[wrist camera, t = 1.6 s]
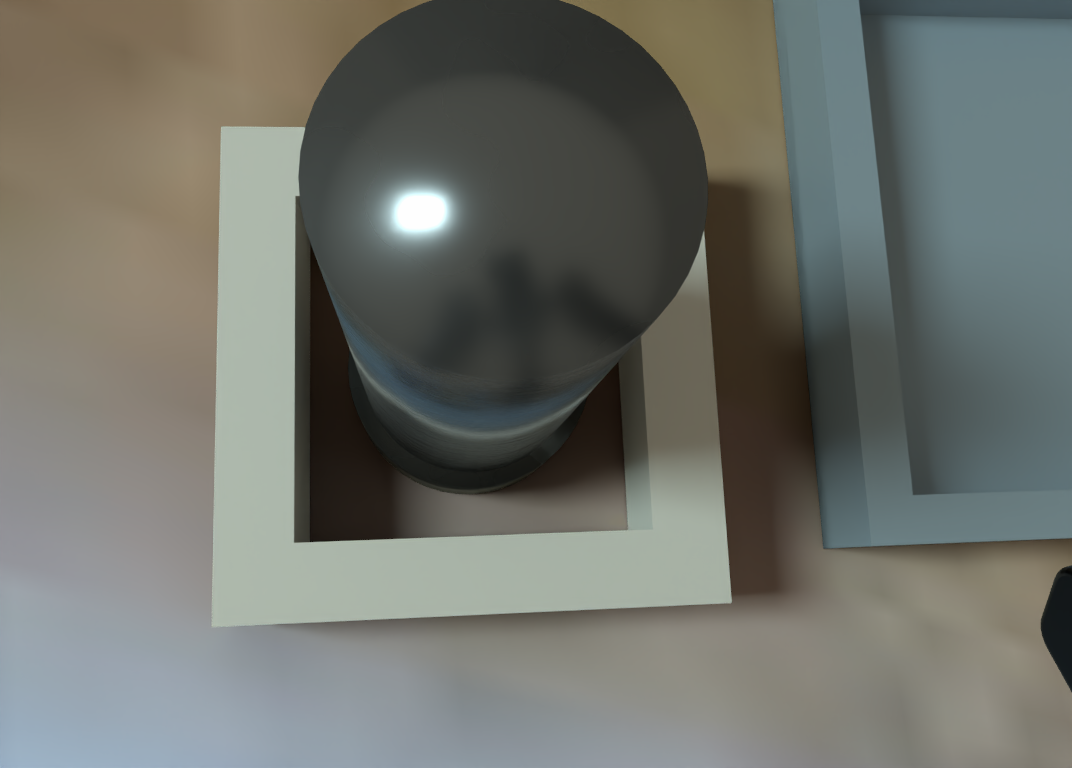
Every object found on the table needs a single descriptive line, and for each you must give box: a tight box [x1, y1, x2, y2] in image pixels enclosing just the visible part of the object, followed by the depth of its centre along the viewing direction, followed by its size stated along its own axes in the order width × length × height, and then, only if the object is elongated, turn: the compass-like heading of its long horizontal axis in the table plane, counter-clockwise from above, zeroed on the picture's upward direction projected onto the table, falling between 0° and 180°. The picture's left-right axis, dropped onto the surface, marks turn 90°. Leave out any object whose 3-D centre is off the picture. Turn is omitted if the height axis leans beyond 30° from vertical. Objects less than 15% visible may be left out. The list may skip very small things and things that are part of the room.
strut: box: [298, 0, 708, 494], centre depth 16 cm, size 5×5×12 cm
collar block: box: [212, 127, 732, 627], centre depth 21 cm, size 10×10×2 cm
